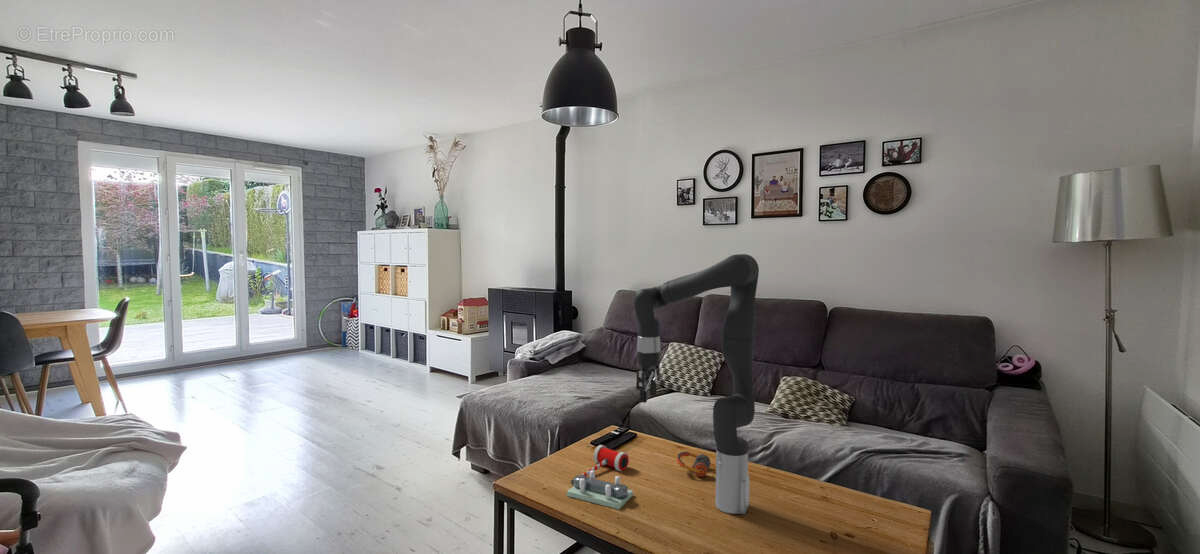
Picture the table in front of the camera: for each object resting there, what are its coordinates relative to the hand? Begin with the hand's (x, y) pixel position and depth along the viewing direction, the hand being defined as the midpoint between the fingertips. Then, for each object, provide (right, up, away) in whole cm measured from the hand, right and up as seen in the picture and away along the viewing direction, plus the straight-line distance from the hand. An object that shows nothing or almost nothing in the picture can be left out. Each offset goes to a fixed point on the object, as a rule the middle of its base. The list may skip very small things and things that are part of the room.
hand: (648, 398), depth 167 cm
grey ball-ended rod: (-16, -27, -7) cm, 32 cm away
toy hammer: (-16, -28, +11) cm, 34 cm away
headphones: (+21, -28, +9) cm, 36 cm away
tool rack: (-16, -29, -7) cm, 33 cm away
